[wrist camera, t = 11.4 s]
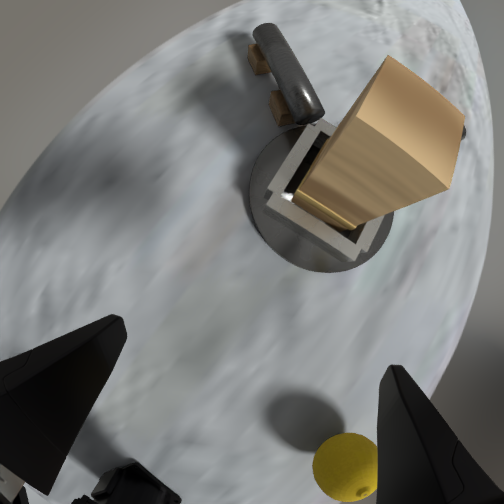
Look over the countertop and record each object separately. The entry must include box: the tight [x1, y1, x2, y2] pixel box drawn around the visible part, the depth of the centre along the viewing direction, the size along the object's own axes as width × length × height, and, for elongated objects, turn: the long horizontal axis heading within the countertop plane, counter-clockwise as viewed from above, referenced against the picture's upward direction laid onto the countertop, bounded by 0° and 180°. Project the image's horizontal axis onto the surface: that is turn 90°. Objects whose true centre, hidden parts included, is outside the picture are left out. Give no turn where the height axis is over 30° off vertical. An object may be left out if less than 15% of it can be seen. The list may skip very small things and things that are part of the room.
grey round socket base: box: [249, 118, 394, 273], centre depth 20 cm, size 12×12×3 cm
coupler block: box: [291, 55, 465, 232], centre depth 15 cm, size 5×5×12 cm
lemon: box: [312, 433, 378, 502], centre depth 17 cm, size 6×6×8 cm
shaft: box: [248, 23, 325, 126], centre depth 20 cm, size 10×3×4 cm, turn 18°
